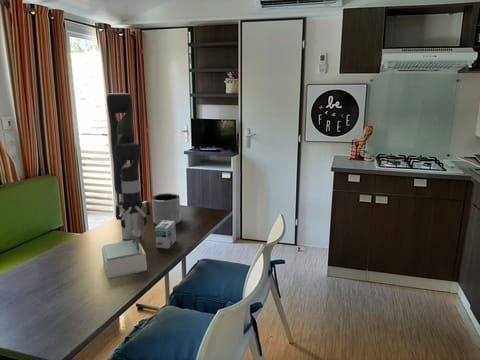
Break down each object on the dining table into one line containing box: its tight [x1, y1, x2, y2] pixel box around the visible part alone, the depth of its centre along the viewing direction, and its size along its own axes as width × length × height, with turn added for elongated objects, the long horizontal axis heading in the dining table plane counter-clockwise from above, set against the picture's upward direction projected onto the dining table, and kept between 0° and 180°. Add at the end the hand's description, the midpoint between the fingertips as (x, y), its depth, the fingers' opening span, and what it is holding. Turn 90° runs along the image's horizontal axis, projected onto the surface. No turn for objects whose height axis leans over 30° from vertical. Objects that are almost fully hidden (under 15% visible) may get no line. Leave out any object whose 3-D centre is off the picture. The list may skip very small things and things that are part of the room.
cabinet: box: [101, 242, 148, 280], centre depth 159 cm, size 16×16×8 cm
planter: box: [151, 192, 182, 226], centre depth 213 cm, size 16×16×16 cm
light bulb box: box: [154, 220, 177, 249], centre depth 182 cm, size 11×7×11 cm, turn 168°
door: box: [102, 230, 142, 260], centre depth 157 cm, size 15×14×6 cm
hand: (134, 226), depth 158 cm, fingers open, 8 cm apart
